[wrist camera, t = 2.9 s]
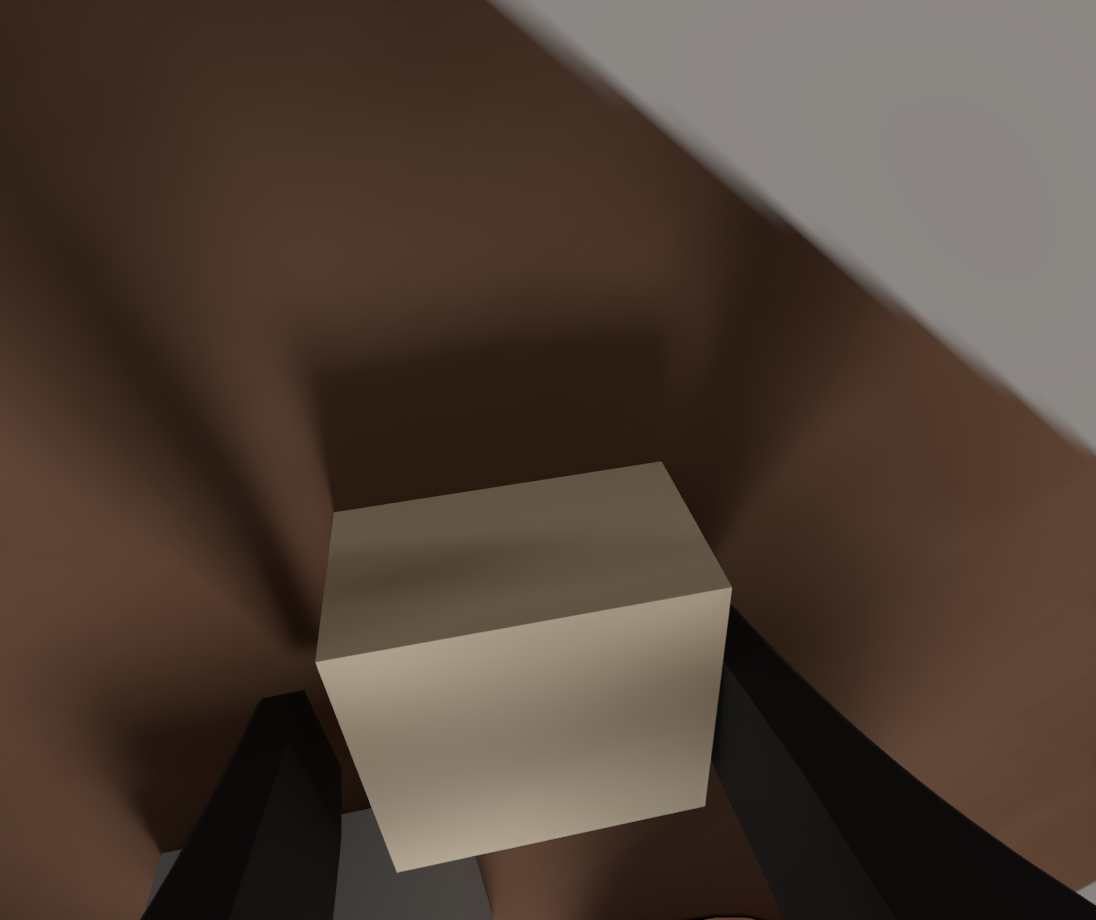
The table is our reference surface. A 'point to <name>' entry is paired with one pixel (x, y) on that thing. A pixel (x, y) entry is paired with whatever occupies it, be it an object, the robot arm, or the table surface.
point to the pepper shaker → (730, 919)
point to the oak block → (524, 660)
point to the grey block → (389, 881)
